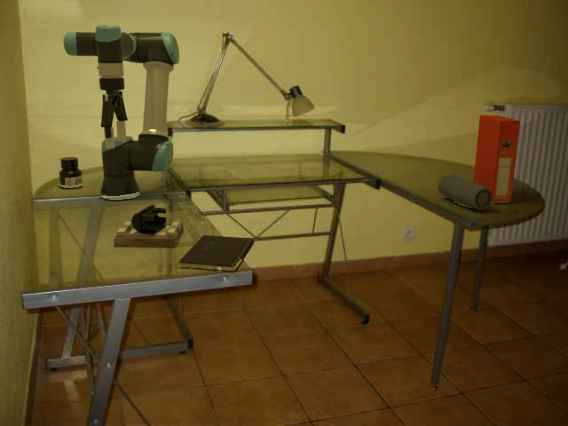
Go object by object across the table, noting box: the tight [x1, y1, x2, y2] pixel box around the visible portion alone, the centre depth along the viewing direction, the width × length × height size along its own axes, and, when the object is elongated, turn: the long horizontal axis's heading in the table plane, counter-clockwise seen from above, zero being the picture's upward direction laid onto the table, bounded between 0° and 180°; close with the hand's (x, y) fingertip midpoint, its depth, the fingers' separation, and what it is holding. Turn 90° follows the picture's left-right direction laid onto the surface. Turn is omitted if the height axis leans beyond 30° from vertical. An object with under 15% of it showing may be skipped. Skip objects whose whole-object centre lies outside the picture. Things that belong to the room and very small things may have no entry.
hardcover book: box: [177, 234, 255, 269], centre depth 168 cm, size 16×23×2 cm
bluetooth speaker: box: [437, 174, 493, 211], centre depth 222 cm, size 23×9×10 cm, turn 20°
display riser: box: [113, 219, 185, 248], centre depth 181 cm, size 16×18×4 cm
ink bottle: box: [58, 156, 84, 186], centre depth 241 cm, size 10×9×12 cm
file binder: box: [472, 114, 521, 202], centre depth 228 cm, size 8×17×32 cm, turn 7°
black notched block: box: [130, 204, 167, 235], centre depth 180 cm, size 10×7×7 cm
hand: (116, 144), depth 188 cm, fingers open, 13 cm apart
